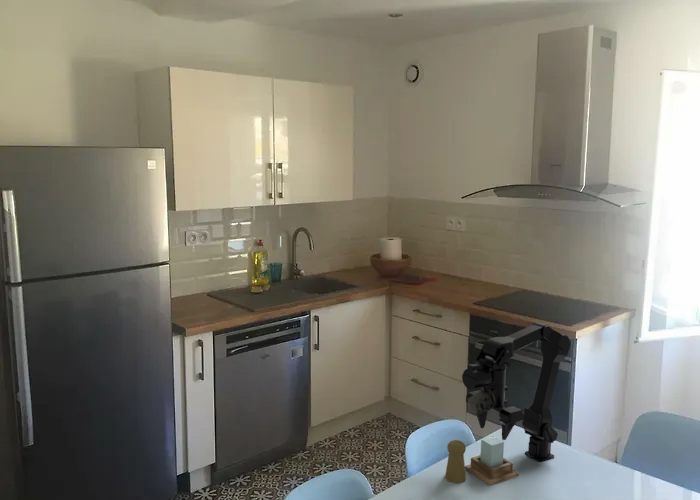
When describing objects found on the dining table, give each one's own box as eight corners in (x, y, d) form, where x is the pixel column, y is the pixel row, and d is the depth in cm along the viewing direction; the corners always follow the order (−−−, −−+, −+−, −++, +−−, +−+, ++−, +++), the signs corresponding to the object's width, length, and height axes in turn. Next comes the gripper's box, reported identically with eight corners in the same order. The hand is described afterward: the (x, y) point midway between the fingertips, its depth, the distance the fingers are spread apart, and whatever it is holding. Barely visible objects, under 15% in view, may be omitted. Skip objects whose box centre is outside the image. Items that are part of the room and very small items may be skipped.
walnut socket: (492, 460, 187) (492, 449, 187) (518, 475, 178) (519, 464, 177) (464, 468, 182) (465, 457, 181) (490, 485, 173) (490, 473, 172)
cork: (465, 484, 173) (467, 447, 171) (444, 482, 174) (445, 445, 173) (466, 473, 179) (467, 438, 177) (445, 471, 180) (446, 436, 178)
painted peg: (491, 464, 183) (492, 436, 182) (502, 471, 179) (503, 442, 178) (480, 468, 181) (481, 439, 179) (490, 474, 177) (492, 445, 176)
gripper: (452, 377, 180) (451, 427, 182) (496, 398, 164) (494, 452, 166) (481, 371, 186) (479, 420, 188) (526, 391, 170) (524, 444, 172)
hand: (492, 433), depth 178 cm, fingers open, 9 cm apart
